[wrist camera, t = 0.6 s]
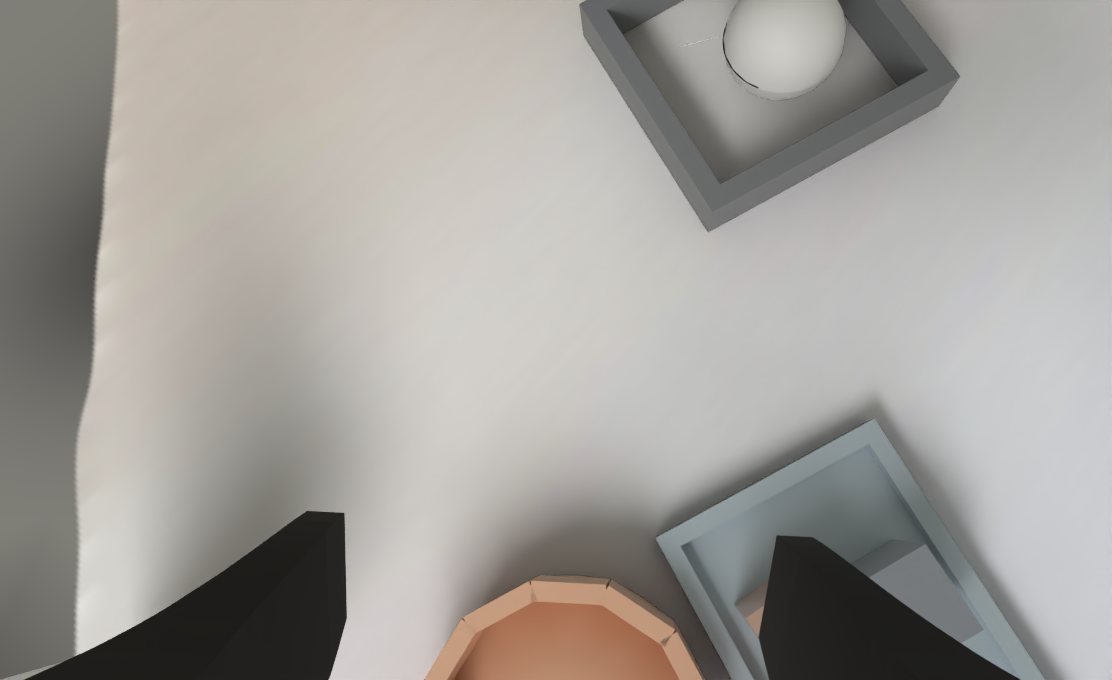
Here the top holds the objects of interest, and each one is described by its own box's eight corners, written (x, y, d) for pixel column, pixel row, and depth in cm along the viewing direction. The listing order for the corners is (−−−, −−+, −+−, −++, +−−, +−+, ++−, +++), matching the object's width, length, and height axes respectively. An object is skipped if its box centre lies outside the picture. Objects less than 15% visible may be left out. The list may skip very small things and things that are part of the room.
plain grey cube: (942, 613, 31) (984, 629, 27) (870, 656, 31) (902, 678, 27) (891, 539, 32) (925, 544, 28) (822, 580, 32) (846, 590, 28)
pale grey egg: (835, 26, 38) (866, -54, 33) (825, 126, 37) (855, 61, 31) (685, 17, 39) (692, -62, 34) (672, 113, 38) (676, 48, 33)
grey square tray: (938, 106, 36) (960, 76, 34) (708, 232, 36) (712, 211, 34) (795, -80, 40) (805, -120, 37) (583, 35, 40) (579, 4, 37)
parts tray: (1109, 796, 29) (1128, 808, 28) (867, 928, 29) (876, 945, 28) (866, 421, 34) (874, 418, 32) (655, 536, 34) (655, 538, 32)
